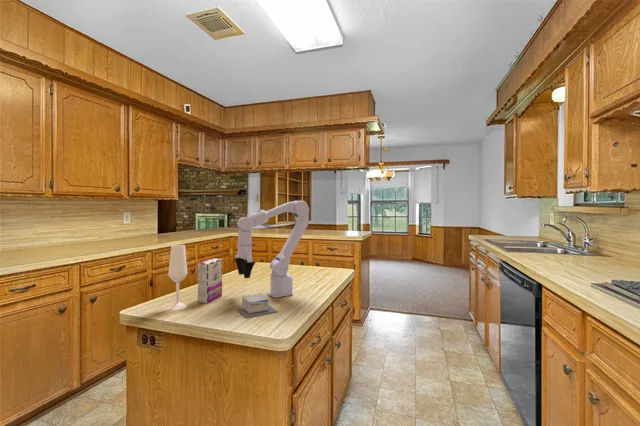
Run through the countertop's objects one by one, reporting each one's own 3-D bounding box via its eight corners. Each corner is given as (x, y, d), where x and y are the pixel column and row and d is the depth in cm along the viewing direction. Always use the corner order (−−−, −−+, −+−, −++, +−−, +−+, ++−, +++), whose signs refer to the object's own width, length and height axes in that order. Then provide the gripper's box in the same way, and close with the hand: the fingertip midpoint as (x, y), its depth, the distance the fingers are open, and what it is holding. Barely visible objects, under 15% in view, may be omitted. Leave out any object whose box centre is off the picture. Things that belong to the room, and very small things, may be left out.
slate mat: (267, 305, 120) (267, 303, 120) (276, 312, 112) (276, 311, 112) (237, 310, 113) (237, 308, 113) (245, 318, 105) (245, 316, 105)
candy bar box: (212, 294, 132) (212, 258, 131) (222, 295, 131) (222, 258, 130) (196, 302, 121) (197, 262, 120) (207, 303, 120) (208, 263, 119)
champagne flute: (183, 303, 120) (183, 244, 120) (189, 307, 115) (190, 245, 115) (165, 306, 115) (166, 245, 115) (171, 311, 111) (171, 247, 110)
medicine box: (241, 307, 115) (248, 314, 108) (241, 295, 115) (248, 302, 108) (261, 303, 119) (269, 310, 112) (261, 292, 119) (269, 299, 112)
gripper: (230, 243, 132) (230, 273, 132) (240, 247, 120) (240, 280, 120) (246, 242, 136) (245, 272, 136) (257, 246, 124) (257, 278, 124)
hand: (244, 276), depth 128 cm, fingers open, 7 cm apart
